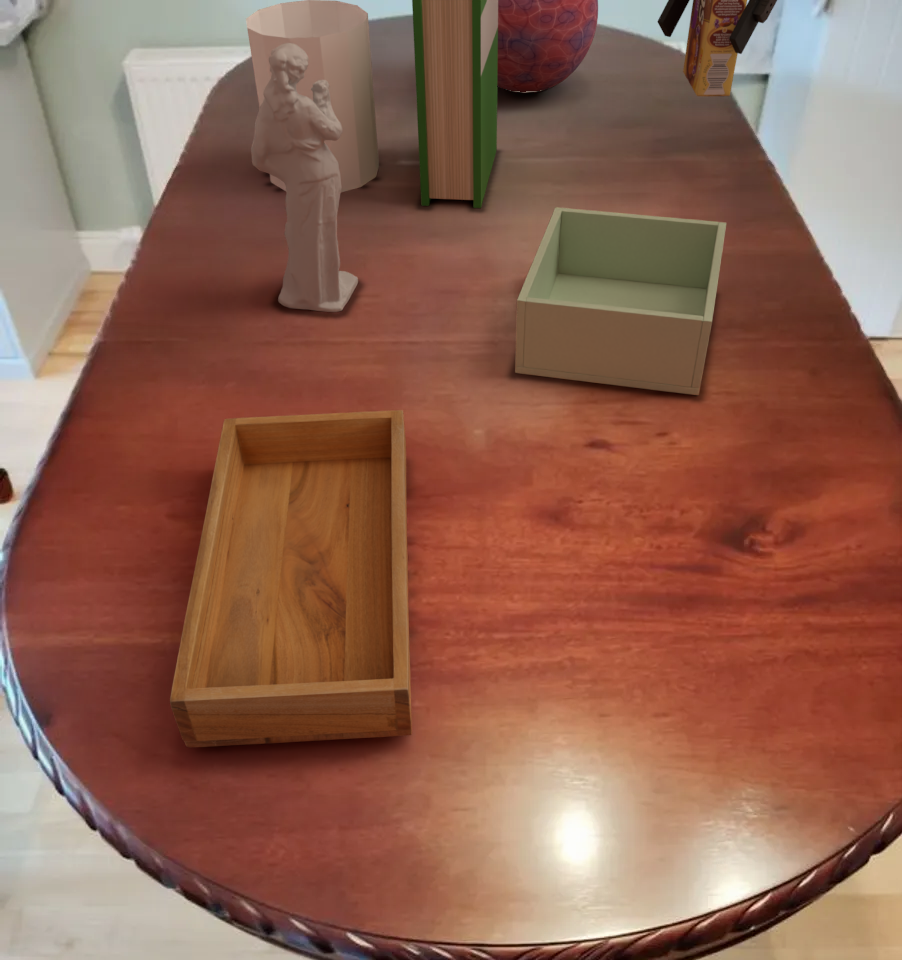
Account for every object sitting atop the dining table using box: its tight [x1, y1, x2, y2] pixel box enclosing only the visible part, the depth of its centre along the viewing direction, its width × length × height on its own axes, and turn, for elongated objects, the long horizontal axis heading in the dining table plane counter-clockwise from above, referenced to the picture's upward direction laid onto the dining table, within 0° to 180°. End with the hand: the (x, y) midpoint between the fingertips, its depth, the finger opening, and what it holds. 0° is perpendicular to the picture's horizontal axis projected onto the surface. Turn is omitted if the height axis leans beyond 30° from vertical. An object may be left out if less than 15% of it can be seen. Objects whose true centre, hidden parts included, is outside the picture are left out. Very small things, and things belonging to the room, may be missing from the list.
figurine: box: [250, 43, 359, 313], centre depth 100 cm, size 10×10×25 cm
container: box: [245, 0, 380, 194], centre depth 124 cm, size 14×14×18 cm
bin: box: [514, 206, 727, 396], centre depth 99 cm, size 18×20×8 cm
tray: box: [169, 409, 413, 748], centre depth 75 cm, size 31×15×6 cm, turn 3°
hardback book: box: [411, 0, 498, 209], centre depth 120 cm, size 18×7×24 cm, turn 172°
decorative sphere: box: [497, 0, 599, 94], centre depth 143 cm, size 20×20×20 cm
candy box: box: [682, 0, 748, 97], centre depth 113 cm, size 9×4×15 cm, turn 1°
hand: (698, 37), depth 113 cm, fingers closed on candy box, 9 cm apart
